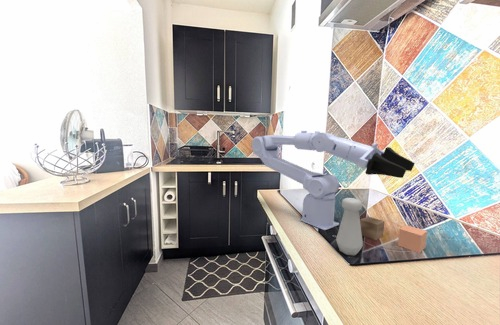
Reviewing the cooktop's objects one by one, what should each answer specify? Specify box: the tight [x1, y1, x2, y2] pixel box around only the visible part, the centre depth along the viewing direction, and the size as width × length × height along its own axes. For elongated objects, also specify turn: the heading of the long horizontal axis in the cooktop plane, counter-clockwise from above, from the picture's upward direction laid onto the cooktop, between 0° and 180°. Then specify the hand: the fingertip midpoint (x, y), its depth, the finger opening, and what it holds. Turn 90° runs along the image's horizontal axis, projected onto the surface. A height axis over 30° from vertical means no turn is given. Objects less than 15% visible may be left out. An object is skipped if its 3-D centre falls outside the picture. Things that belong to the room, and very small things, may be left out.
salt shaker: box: [335, 197, 364, 257], centre depth 50 cm, size 6×6×13 cm
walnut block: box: [360, 216, 385, 241], centre depth 59 cm, size 4×4×4 cm
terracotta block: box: [397, 224, 428, 254], centre depth 53 cm, size 4×4×4 cm
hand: (408, 170), depth 50 cm, fingers open, 7 cm apart
